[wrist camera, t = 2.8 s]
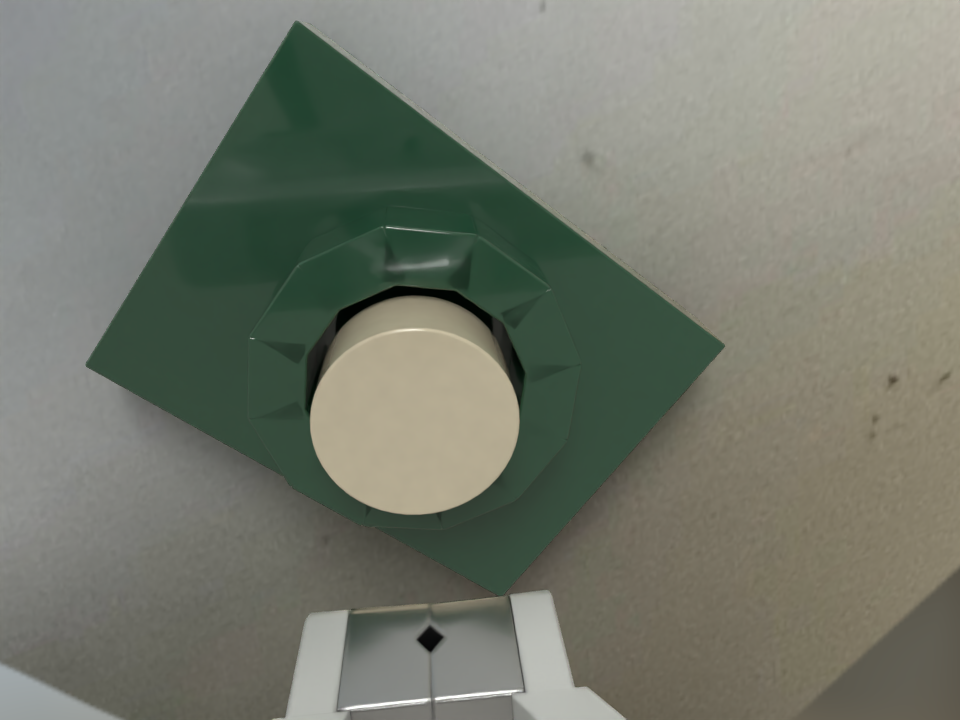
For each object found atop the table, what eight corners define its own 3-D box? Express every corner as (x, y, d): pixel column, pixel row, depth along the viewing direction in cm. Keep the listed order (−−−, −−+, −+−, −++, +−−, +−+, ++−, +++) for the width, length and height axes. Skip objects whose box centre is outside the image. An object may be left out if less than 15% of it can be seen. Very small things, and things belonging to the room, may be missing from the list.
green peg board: (114, 335, 19) (43, 404, 15) (308, 22, 17) (279, 15, 13) (494, 553, 23) (510, 652, 19) (698, 318, 20) (761, 379, 17)
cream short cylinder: (284, 404, 16) (268, 451, 14) (391, 256, 15) (387, 286, 13) (436, 494, 17) (439, 548, 16) (544, 362, 16) (562, 402, 15)
